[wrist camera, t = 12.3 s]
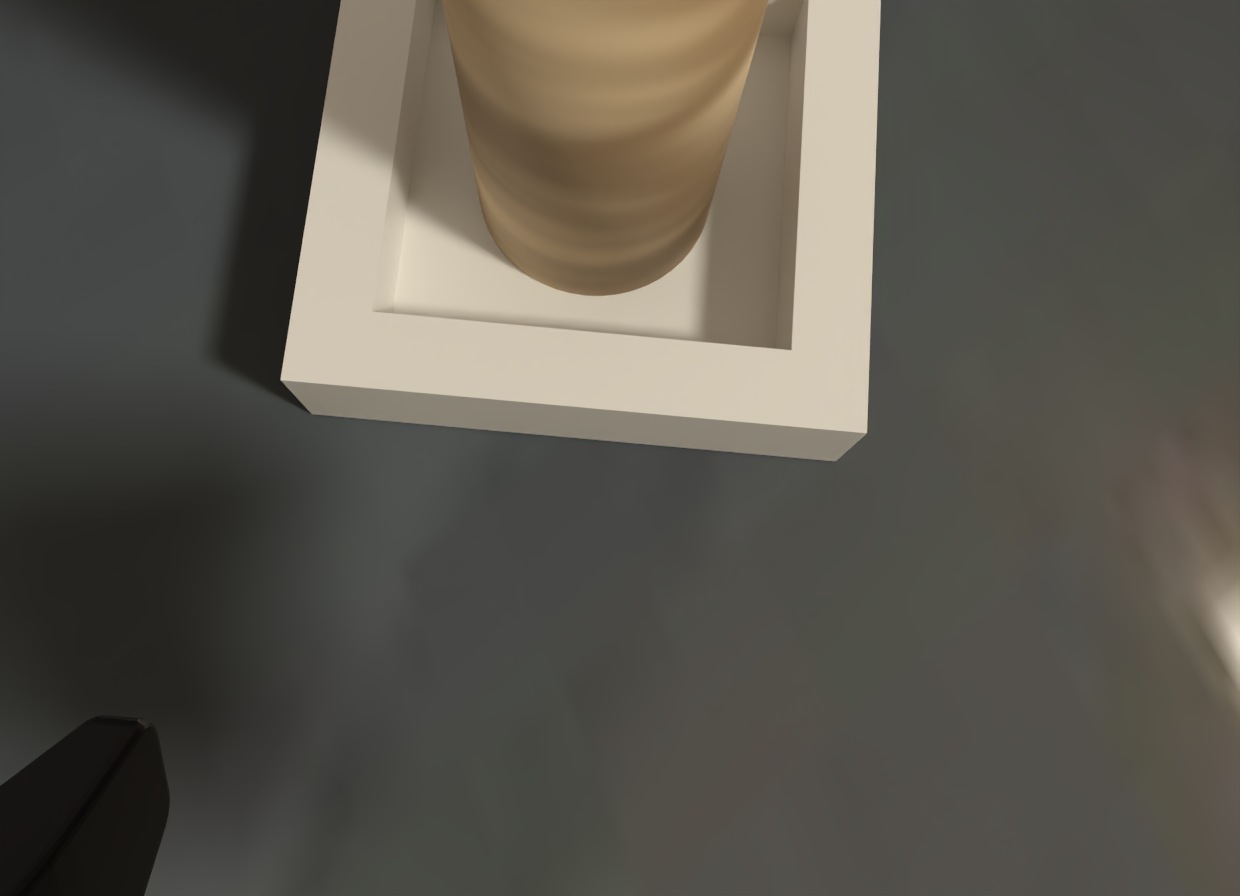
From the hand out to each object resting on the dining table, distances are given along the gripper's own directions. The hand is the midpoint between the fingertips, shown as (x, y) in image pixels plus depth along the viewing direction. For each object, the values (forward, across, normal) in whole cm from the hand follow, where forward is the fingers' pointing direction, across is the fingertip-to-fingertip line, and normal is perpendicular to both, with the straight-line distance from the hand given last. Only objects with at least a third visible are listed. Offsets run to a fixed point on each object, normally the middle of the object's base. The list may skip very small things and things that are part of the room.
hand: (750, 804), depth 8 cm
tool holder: (+18, +2, +2) cm, 18 cm away
